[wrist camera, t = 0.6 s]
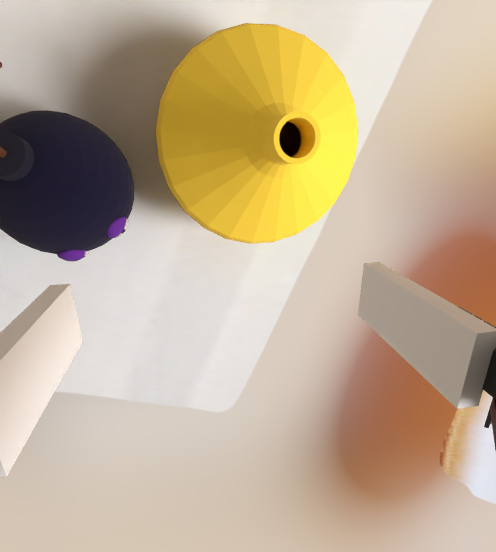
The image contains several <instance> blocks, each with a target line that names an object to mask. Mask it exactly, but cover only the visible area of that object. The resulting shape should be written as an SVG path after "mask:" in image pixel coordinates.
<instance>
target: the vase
mask: <svg viewBox="0 0 496 552" xmlns="http://www.w3.org/2000/svg"><path fill="white" fill-rule="evenodd" d="M357 135H358V126H357V118H356V111H355V104H354V100H353V98H352V95H351V93H350V90H349V88H348V85H347V83H346V80H345V78H344V75H343V74H342V73H341V71H340V70H339V69H338V67H337V66H336V64H335V63H334V62H333V60H332V59H331V58H330V56H329V55H328V54H327V53H326V52H325V51H324V50H323V49H321V48H320V47H319V46H317V45H316V44H315V43H314V42H312V41H311V40H310V39H308V38H307V37H306V36H305V35H302V34H299V33H297V32H294V31H291V30H289V29H286V28H283V27H281V26H278V25H272V24H249V23H245V24H241V25H238V26H234V27H231V28H227V29H224V30H220V31H217V32H215V33H214V34H212V35H211V36H209V37H208V38H206V39H205V40H203V41H202V42H201V43H199V44H198V45H196V46H195V47H193V48H192V49H191V50H190V51H189V52H188V54H187V55H186V56H185V57H184V59H183V60H182V61H181V62H180V64H179V65H178V66H177V67H176V68H175V70H174V71H173V72H172V74H171V77H170V79H169V81H168V84H167V86H166V88H165V91H164V93H163V95H162V98H161V100H160V105H159V112H158V119H157V126H156V139H157V148H158V158H159V163H160V166H161V168H162V171H163V174H164V176H165V179H166V182H167V185H168V187H169V189H170V191H171V192H172V194H173V195H174V196H175V198H176V199H177V201H178V202H179V204H180V205H181V207H182V208H183V210H184V211H185V212H186V213H187V214H189V215H190V216H191V217H192V218H193V219H194V220H195V221H197V222H198V223H199V224H200V225H201V226H202V227H203V228H205V229H207V230H209V231H211V232H213V233H215V234H217V235H219V236H221V237H223V238H225V239H230V240H235V241H240V242H245V243H265V242H274V241H277V240H280V239H283V238H287V237H290V236H293V235H295V234H297V233H299V232H300V231H302V230H304V229H305V228H307V227H308V226H310V225H311V224H313V223H315V222H316V221H318V220H319V219H320V218H321V217H322V216H323V215H324V214H325V212H326V211H327V210H328V209H329V208H330V207H331V206H332V205H333V204H334V203H335V202H336V200H337V198H338V197H339V195H340V193H341V191H342V190H343V188H344V186H345V185H346V183H347V181H348V178H349V175H350V172H351V169H352V166H353V163H354V160H355V157H356V147H357Z"/></svg>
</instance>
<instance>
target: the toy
mask: <svg viewBox="0 0 496 552" xmlns="http://www.w3.org/2000/svg"><path fill="white" fill-rule="evenodd" d="M1 67H2V63H1V62H0V68H1ZM133 201H134V184H133V179H132V174H131V170H130V168H129V166H128V163H127V161H126V159H125V157H124V156H123V154H122V153H121V151H120V150H119V148H118V147H117V146H116V144H115V143H114V142H113V141H112V140H111V139H110V138H109V137H108V136H107V135H106V134H105V133H103V132H102V131H101V130H100V129H98V128H97V127H95V126H94V125H92V124H90V123H89V122H87V121H85V120H82V119H80V118H77V117H75V116H72V115H69V114H66V113H61V112H54V111H31V112H27V113H23V114H19V115H17V116H14V117H12V118H9V119H7V120H5V121H3V122H2V123H1V124H0V229H1V230H3V231H4V232H5V233H7V234H8V235H9V236H11V237H12V238H14V239H15V240H17V241H18V242H20V243H22V244H24V245H26V246H29V247H31V248H34V249H37V250H39V251H43V252H48V253H54V254H57V255H58V257H60V258H61V259H63V260H67V261H77V260H80V259H82V258H83V257H85V255H87V254H88V253H89V252H90V250H92V249H95V248H97V247H99V246H102V245H104V244H105V243H107V242H108V241H109V240H111V239H112V238H115V237H118V236H120V235H121V234H123V233H124V232H125V230H126V229H127V227H128V224H129V221H128V217H129V215H130V212H131V210H132V206H133Z"/></svg>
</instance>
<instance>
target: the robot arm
mask: <svg viewBox="0 0 496 552" xmlns="http://www.w3.org/2000/svg"><path fill="white" fill-rule="evenodd" d="M358 315H359V316H360V317H361V318H362V319H363V320H364V321H365V322H366V323H367V324H368V325H369V326H370V327H371V328H372V329H373V330H374V331H376V332H377V333H378V334H379V335H380V336H381V337H382V338H383V339H384V340H385V341H386V342H387V343H388V344H389V345H390V346H391V347H392V348H394V349H395V350H396V351H397V352H398V353H399V354H400V355H401V356H402V357H403V358H404V359H405V360H406V361H407V362H408V363H410V365H411V366H413V367H414V368H415V369H416V370H417V371H418V372H419V373H420V374H421V375H422V376H423V377H424V378H425V379H426V380H427V381H428V382H429V383H430V384H432V385H433V386H434V387H435V388H436V389H437V390H438V391H439V392H440V393H441V394H442V395H443V396H444V397H445V398H446V399H447V400H448V401H450V402H451V403H452V404H453V405H454V406H455V407H456V408H457V409H460V408H467V407H473V406H478V405H479V402H480V398H481V395H482V392H483V390H485V391H486V392H487V393H488V394H490V395H491V396H492V397H493V399H492V403H491V406H490V409H489V412H488V416H487V419H486V422H485V426H484V427H486V428H489V425H490V424H492V427H493V434H494V442H495V449H496V327H494V326H493V325H491V324H489V323H487V322H485V321H482V319H480V318H478V317H476V316H475V315H474V316H473V315H472V314H471V313H469V312H468V311H466V310H464V309H462V308H460V307H457V306H455V305H454V304H452V303H450V302H448V301H446V300H445V299H443V298H441V297H439V296H438V295H436V294H434V293H432V292H431V291H429V290H427V289H425V288H423V287H422V286H420V285H418V284H416V283H414V282H413V281H411V280H409V279H408V278H406V277H404V276H402V275H401V274H399V273H397V272H395V271H393V270H392V269H390V268H388V267H386V266H384V265H383V264H381V263H379V262H378V263H377V262H376V263H364V269H363V278H362V286H361V295H360V303H359V312H358ZM82 342H83V341H82V336H81V331H80V327H79V322H78V318H77V313H76V308H75V304H74V299H73V295H72V290H71V286H70V284H63V285H50V286H49V287H48V288H47V289H46V290H45V291H44V292H43V293H42V294H41V295H40V296H39V297H38V298H37V299H35V300H34V301H33V302H32V303H31V304H30V305H29V306H28V307H27V308H26V309H25V310H24V311H23V312H22V313H21V314H20V315H19V316H18V317H17V318H15V319H14V320H13V321H12V322H11V323H10V324H9V325H8V326H7V327H6V328H5V329H4V330H3V331H2V332H1V333H0V477H6V476H7V475H8V473H9V471H10V469H11V468H12V466H13V464H14V462H15V461H16V459H17V457H18V455H19V454H20V452H21V450H22V448H23V446H24V445H25V443H26V441H27V439H28V437H29V436H30V434H31V432H32V430H33V429H34V427H35V425H36V423H37V422H38V420H39V418H40V416H41V415H42V413H43V411H44V409H45V407H46V406H47V404H48V402H49V400H50V399H51V397H52V395H53V393H54V392H55V390H56V388H57V386H58V384H59V383H60V381H61V379H62V377H63V376H64V374H65V372H66V370H67V368H68V367H69V365H70V363H71V361H72V360H73V358H74V356H75V354H76V353H77V351H78V349H79V347H80V345H81V344H82Z"/></svg>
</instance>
